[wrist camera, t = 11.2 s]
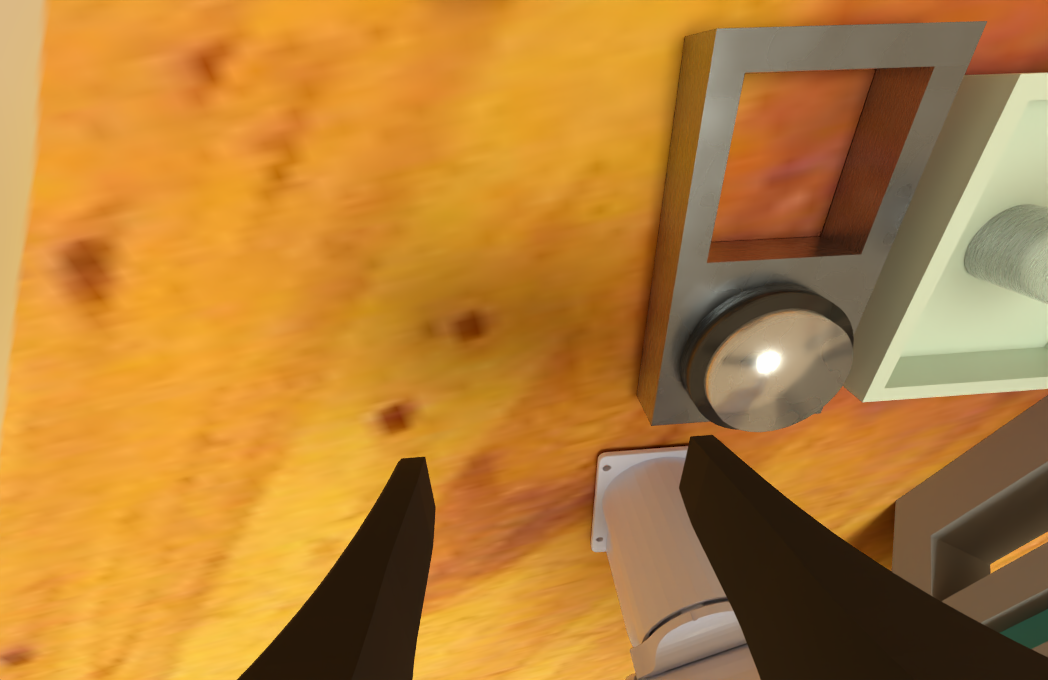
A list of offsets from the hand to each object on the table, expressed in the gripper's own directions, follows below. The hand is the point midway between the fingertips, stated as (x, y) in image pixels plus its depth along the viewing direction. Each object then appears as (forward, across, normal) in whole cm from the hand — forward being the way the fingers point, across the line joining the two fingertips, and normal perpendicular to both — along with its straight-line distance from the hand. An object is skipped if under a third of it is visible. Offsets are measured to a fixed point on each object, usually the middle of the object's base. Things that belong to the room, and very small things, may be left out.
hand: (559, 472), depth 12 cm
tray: (+10, -23, -2) cm, 25 cm away
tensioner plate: (+10, -10, -2) cm, 15 cm away
